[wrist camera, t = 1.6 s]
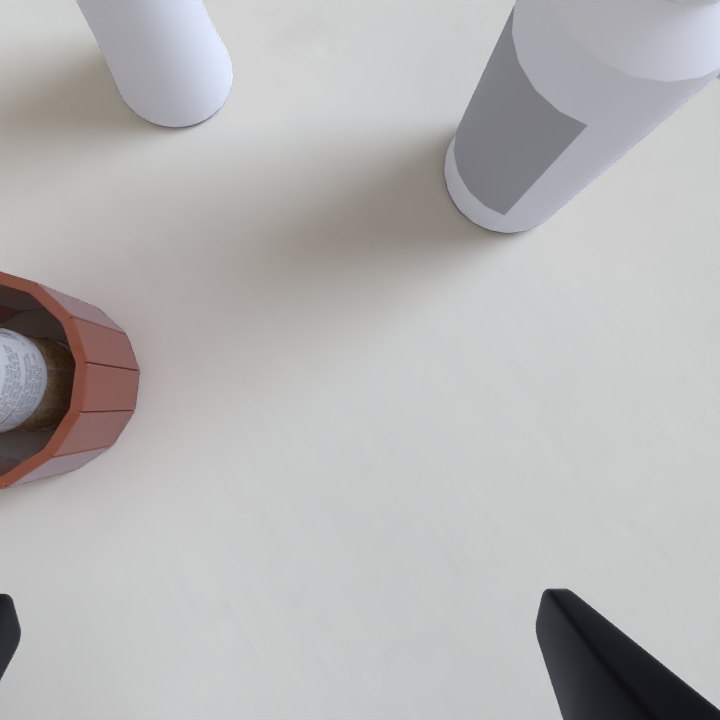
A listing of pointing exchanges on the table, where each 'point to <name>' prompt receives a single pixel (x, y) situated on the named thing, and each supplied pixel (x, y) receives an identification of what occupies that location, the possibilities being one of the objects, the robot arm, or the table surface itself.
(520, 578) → the table surface
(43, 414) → the sprinkles bottle
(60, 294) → the cup
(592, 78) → the spray bottle
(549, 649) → the robot arm
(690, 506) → the table surface
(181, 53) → the cosmetic bottle
